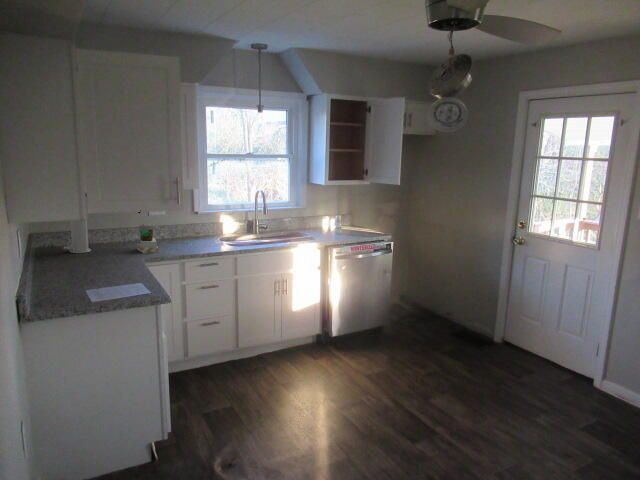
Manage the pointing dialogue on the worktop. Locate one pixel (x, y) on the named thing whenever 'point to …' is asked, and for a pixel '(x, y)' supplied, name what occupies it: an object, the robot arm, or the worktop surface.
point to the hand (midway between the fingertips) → (146, 212)
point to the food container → (146, 232)
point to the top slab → (149, 244)
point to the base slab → (146, 249)
